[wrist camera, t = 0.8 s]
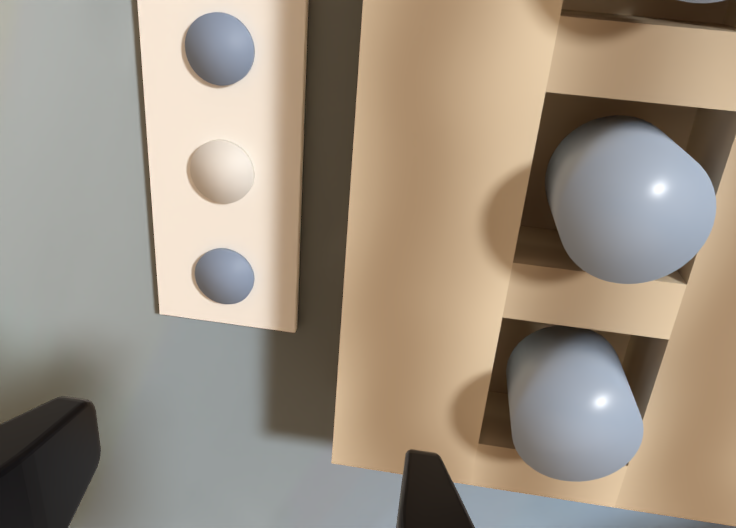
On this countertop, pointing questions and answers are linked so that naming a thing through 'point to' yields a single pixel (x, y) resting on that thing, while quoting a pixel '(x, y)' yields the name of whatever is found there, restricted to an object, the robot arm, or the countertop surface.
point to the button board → (531, 240)
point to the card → (226, 155)
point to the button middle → (628, 200)
